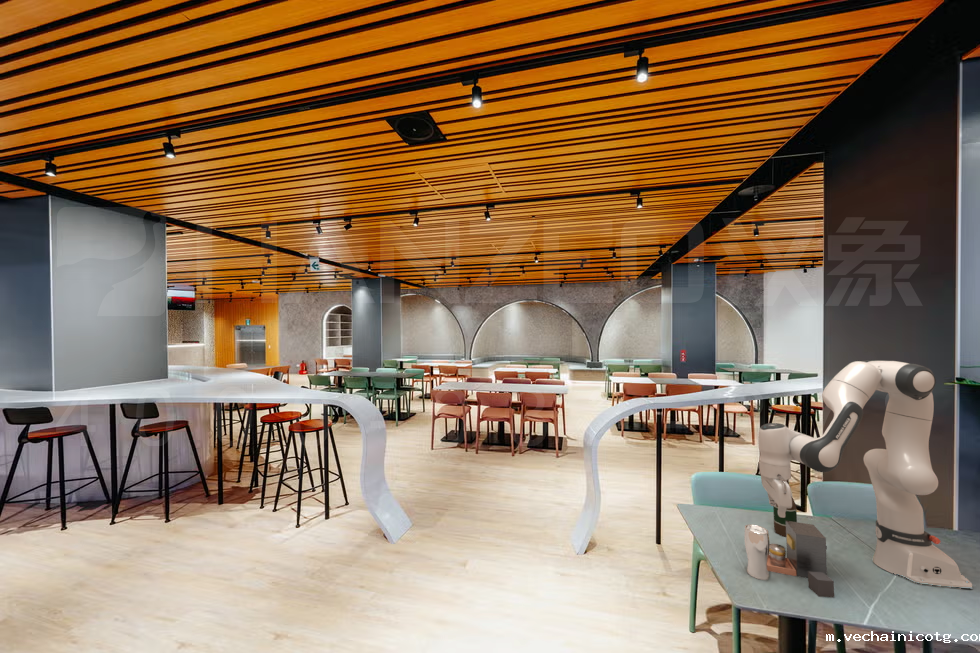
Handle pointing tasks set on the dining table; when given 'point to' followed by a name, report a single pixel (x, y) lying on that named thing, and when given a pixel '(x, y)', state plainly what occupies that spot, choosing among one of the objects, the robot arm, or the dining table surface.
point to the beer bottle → (781, 522)
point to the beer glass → (757, 551)
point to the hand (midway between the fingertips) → (777, 510)
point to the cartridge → (777, 555)
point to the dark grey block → (806, 548)
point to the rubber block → (821, 584)
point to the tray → (788, 570)
